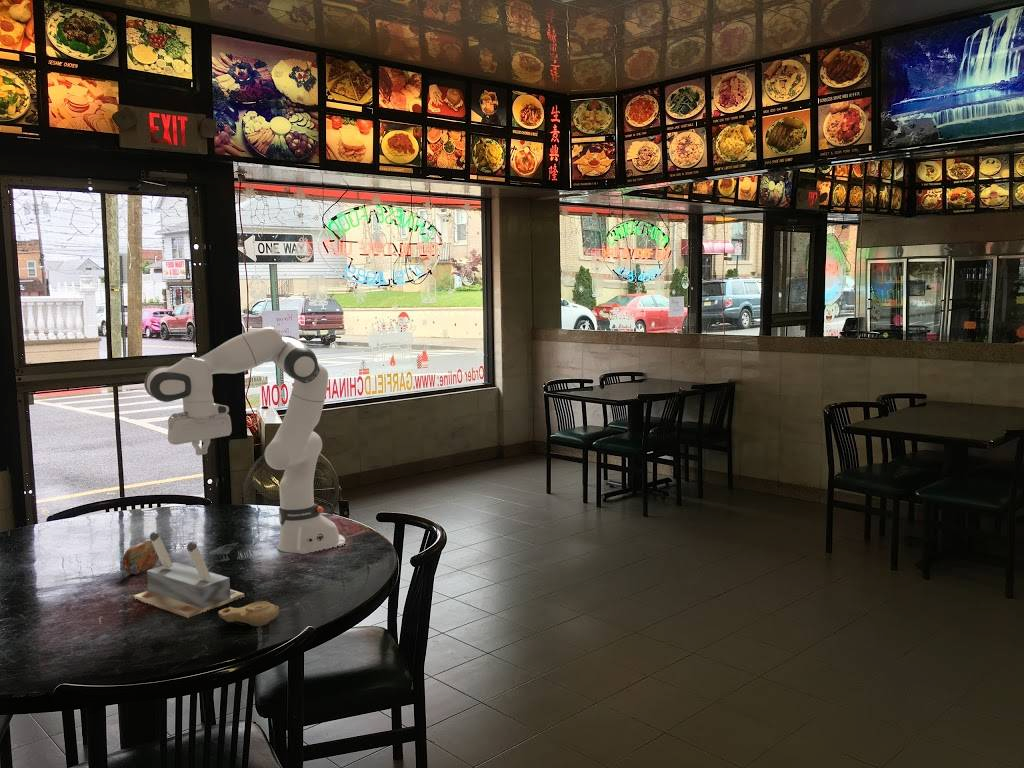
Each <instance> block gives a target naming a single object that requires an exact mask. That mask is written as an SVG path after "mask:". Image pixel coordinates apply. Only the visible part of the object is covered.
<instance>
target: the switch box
mask: <svg viewBox="0 0 1024 768" xmlns="http://www.w3.org/2000/svg"><path fill="white" fill-rule="evenodd" d="M172 564H173V566H172V567H171V568H166V567H163V565H160V566H157V567H154V568H153V567H152V568H151V569H150V568H149V569H147V570H146V576H147V590H146V591H143V592H140V593H137V594H134V595H133V599H134V598H135V599H134V600H136V599H138V600H137V601H139V600H140V602H142V603H145V604H147V603H148V605H150V604H151V605H150V606H153V605H154V607H157V608H159V609H162V610H164V611H168V612H170V613H172V614H176V615H179V616H182V617H185V618H187V619H189V618H192V617H194V616H196V615H199V614H202V612H203V613H206V612H208V611H210V609H211V610H212V609H216V608H219V607H221V606H224V605H226V604H229V603H233V602H234V600H235V601H237V600H240V599H242V597H243V598H245V593H243V592H240V591H237V590H234V589H231V584H230V583H231V582H230V581H231V580H230V577H227V576H224V575H222V574H217V573H214V572H211V571H208V572H209V574H210V576H211V577H210V578H209V579H208V580H205V579H201V578H200V576H199V574H198V572H197V569H196V567H195V566H194V567H193V566H190V565H187V564H185V563H181V562H177V561H173V562H172ZM239 598H240V599H239ZM207 610H208V611H207Z"/></svg>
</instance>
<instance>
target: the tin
mask: <svg viewBox="0 0 1024 768" xmlns="http://www.w3.org/2000/svg"><path fill="white" fill-rule="evenodd" d="M158 561H159V557H158V555H157V552H156V550H155V548H154V546H153V544H152V541H151V539H150V540H144V541H141V542H139V543H138V544H136V545H133V546H132V547H130V548H128V549H127V550H126V551H125V552H124V555H123V557H122V563H123V569H124V571H125V573H127V574H129V575H139V574H138V573H140V572H141V573H143V572H145V571H147V570H150V568H153V567H155V565H156V564H157V563H158ZM142 571H143V572H142ZM141 573H140V574H141Z"/></svg>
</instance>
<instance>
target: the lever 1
mask: <svg viewBox="0 0 1024 768" xmlns="http://www.w3.org/2000/svg"><path fill="white" fill-rule="evenodd" d="M149 539H150V540H151V541H152V544H153V546H154V548H155V550H156V552H157V555H158V557H159V558H158V560H159V561H160V563H161V566H163V567H166V568H171V567H172V566H173V564H172V563H173V562H172V560H171V558H170V555H169V553H168V552H167V550H166V547H165V545H164V543H163V540H162V538H161V536H160V534H159V532H157V531H153V532H151V533H150V534H149Z"/></svg>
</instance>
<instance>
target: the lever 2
mask: <svg viewBox="0 0 1024 768" xmlns="http://www.w3.org/2000/svg"><path fill="white" fill-rule="evenodd" d="M186 549H187V552H188V553H189V556H190V558H191V560H192V563H193V565H194V568H196V569H197V572H198V574H199V576H200V578H201V579H205V580H208V579H209V578H210V577H211V576H210V574H209V572H210V571H209V570H208V567H207V565H206V563H205V560H204V558H203V556H202V554H201V551H200V549H199V547H198V545H197V542H193V541H191V542H188V543H187V544H186Z"/></svg>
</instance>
